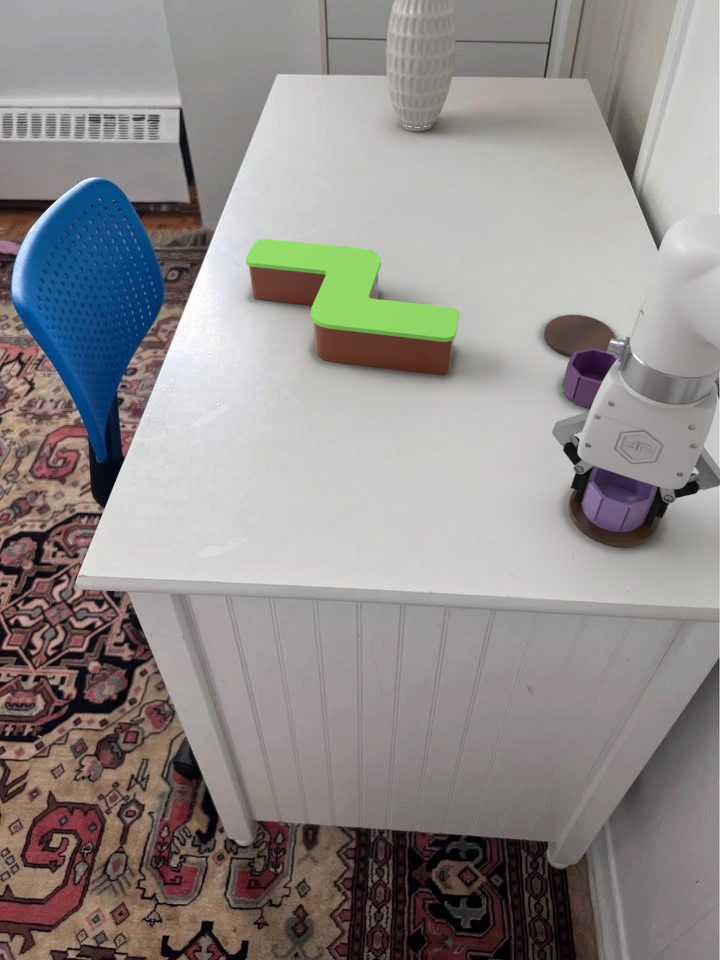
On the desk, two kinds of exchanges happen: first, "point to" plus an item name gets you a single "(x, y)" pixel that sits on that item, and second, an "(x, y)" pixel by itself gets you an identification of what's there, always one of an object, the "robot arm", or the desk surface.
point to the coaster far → (577, 334)
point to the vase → (420, 59)
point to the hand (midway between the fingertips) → (614, 504)
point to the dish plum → (586, 375)
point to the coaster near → (607, 536)
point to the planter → (353, 307)
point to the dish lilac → (616, 500)
